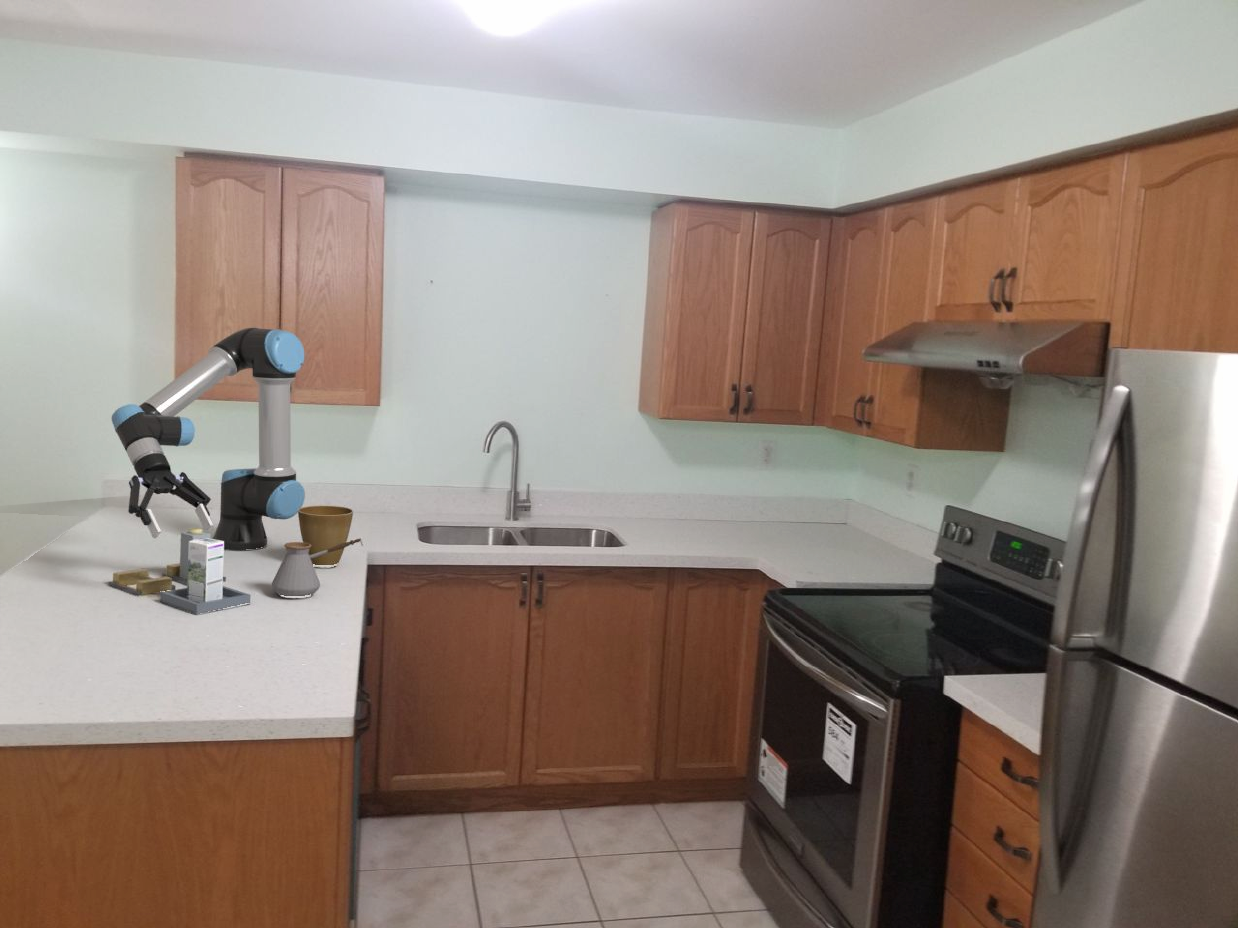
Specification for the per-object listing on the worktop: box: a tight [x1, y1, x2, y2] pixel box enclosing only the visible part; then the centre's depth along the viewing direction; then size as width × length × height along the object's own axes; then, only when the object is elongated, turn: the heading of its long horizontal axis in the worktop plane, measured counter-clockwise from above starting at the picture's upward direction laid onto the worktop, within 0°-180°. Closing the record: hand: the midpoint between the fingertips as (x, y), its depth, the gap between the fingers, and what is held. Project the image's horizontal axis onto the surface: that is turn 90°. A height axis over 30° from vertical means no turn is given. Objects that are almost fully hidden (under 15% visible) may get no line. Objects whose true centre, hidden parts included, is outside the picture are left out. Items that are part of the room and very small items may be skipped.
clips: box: [162, 562, 227, 586], centre depth 253 cm, size 10×12×3 cm
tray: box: [159, 585, 251, 615], centre depth 232 cm, size 14×14×2 cm
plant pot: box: [297, 505, 354, 565], centre depth 278 cm, size 15×15×16 cm
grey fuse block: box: [179, 527, 212, 580], centre depth 252 cm, size 5×5×13 cm
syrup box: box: [186, 538, 225, 603], centre depth 231 cm, size 6×6×14 cm
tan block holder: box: [108, 568, 177, 597], centre depth 241 cm, size 10×12×3 cm
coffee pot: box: [271, 537, 364, 596], centre depth 246 cm, size 21×12×15 cm, turn 103°
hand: (184, 531), depth 236 cm, fingers open, 13 cm apart
